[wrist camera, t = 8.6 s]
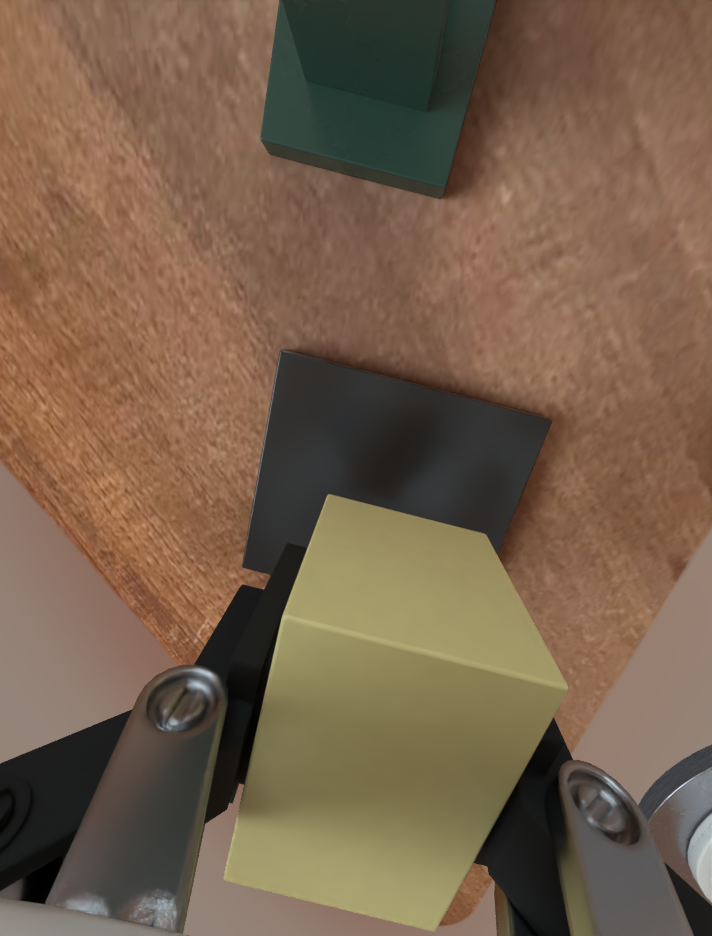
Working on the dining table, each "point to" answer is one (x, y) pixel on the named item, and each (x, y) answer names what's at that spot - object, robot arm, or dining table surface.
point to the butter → (390, 717)
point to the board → (384, 454)
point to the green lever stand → (374, 86)
